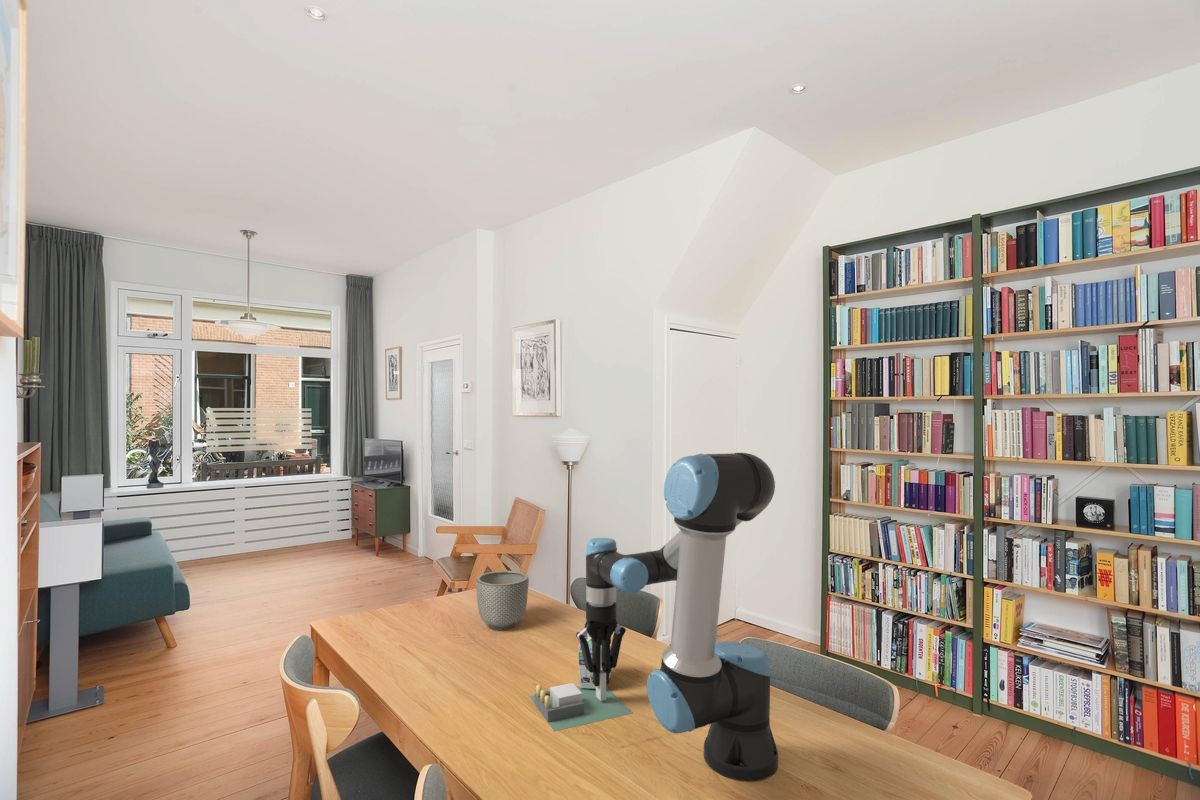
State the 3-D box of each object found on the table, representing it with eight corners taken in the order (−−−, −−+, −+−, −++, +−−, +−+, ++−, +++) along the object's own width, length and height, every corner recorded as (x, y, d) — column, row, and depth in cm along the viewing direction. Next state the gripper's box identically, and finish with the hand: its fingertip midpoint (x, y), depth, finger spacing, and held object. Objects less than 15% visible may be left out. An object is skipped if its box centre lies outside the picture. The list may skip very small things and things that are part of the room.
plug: (582, 710, 146) (582, 693, 146) (558, 715, 144) (558, 698, 144) (572, 699, 152) (572, 682, 152) (549, 703, 149) (550, 687, 149)
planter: (524, 635, 195) (525, 585, 195) (470, 635, 195) (471, 584, 195) (531, 616, 212) (531, 570, 212) (481, 616, 212) (482, 570, 212)
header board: (633, 715, 145) (633, 691, 145) (553, 734, 137) (553, 708, 137) (601, 683, 161) (601, 662, 161) (528, 698, 153) (528, 676, 153)
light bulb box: (604, 690, 155) (603, 646, 156) (578, 689, 157) (577, 645, 158) (611, 675, 166) (610, 634, 167) (587, 674, 167) (586, 633, 168)
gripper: (617, 594, 158) (617, 686, 157) (570, 601, 152) (570, 696, 152) (631, 602, 151) (631, 699, 150) (583, 610, 145) (583, 710, 145)
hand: (600, 697), depth 151 cm, fingers closed
